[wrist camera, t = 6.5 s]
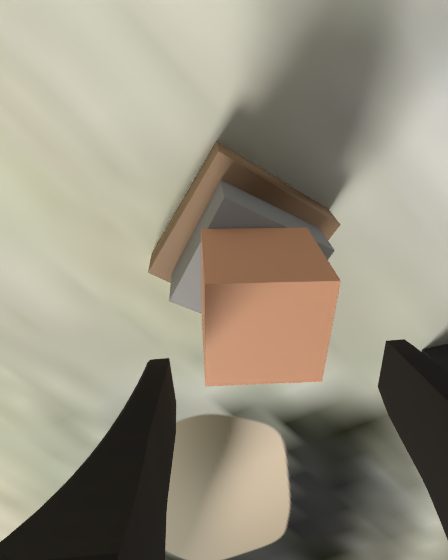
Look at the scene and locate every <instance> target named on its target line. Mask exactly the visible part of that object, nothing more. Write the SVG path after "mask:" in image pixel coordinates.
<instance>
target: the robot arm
mask: <svg viewBox="0 0 448 560" xmlns="http://www.w3.org/2000/svg"><path fill="white" fill-rule="evenodd" d="M378 388H379V391H380V394H381V396H382V399H383V402H384V405H385V407H386V410H387V412H388V415H389V417H390V419H391V421H392V423H393V425H394V426H395V428H396V430H397V432H398V434H399V436H400V438H401V440H402V442H403V443H404V445H405V447H406V449H407V451H408V453H409V455H410V457H411V458H412V460H413V462H414V464H415V466H416V468H417V470H418V472H419V473H420V475H421V477H422V479H423V481H424V484H425V486H426V488H427V490H428V492H429V495H430V497H431V499H432V502H433V504H434V507H435V509H436V511H437V514H438V516H439V519H440V521H441V524H442V526H443V529H444V532H445V534H446V537H447V539H448V371H446V370H445V369H443V368H442V367H441V366H439V365H438V364H437V363H435V362H434V361H433V360H431V359H430V358H429V357H427V356H426V355H425V354H423V353H422V352H421V351H419V350H418V349H417V348H415V347H414V346H413V345H411V344H410V343H409V342H407V341H406V340H391V341H386V344H385V350H384V355H383V361H382V367H381V372H380V378H379V383H378ZM175 434H176V399H175V393H174V387H173V380H172V374H171V367H170V361H169V358H166V359H153V360H150V361H149V362H148V363H147V365H146V368H145V370H144V372H143V374H142V376H141V378H140V380H139V382H138V384H137V386H136V387H135V389H134V391H133V393H132V395H131V396H130V398H129V400H128V401H127V403H126V405H125V407H124V408H123V410H122V411H121V413H120V415H119V416H118V418H117V419H116V421H115V422H114V424H113V425H112V427H111V428H110V430H109V431H108V432H107V434H106V435H105V437H104V438H103V439H102V441H101V442H100V443H99V445H98V446H97V447H96V448H95V450H94V451H93V452H92V453H91V455H90V456H89V457H88V458H87V459H86V461H85V462H84V463H83V464H82V465H81V466H80V468H79V469H78V470H77V471H76V472H75V473H74V474H73V475H72V477H71V478H70V479H69V480H68V481H67V482H66V483H65V484H64V485H63V486H62V487H61V488H60V489H59V490H58V491H57V492H56V493H55V494H54V495H53V496H52V497H51V498H50V499H49V500H48V501H47V502H46V503H45V504H44V505H43V506H42V507H41V508H40V509H39V510H37V511H36V512H35V513H34V514H33V515H32V516H31V517H30V518H28V519H27V520H26V521H25V522H24V523H23V524H21V525H20V526H19V527H18V528H17V529H16V530H14V531H13V532H12V533H11V534H10V535H9V536H7V537H6V538H5V539H4V540H2V541H1V542H0V560H165V538H166V511H167V498H168V491H169V483H170V474H171V467H172V459H173V451H174V442H175Z"/></svg>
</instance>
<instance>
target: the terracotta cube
mask: <svg viewBox="0 0 448 560" xmlns="http://www.w3.org/2000/svg"><path fill="white" fill-rule="evenodd" d="M201 281H202V330H203V349H204V368H205V386H223V385H248V384H272V383H296V382H321V381H322V379H323V373H324V368H325V362H326V357H327V352H328V346H329V341H330V335H331V330H332V325H333V319H334V314H335V308H336V303H337V298H338V292H339V287H340V279H339V278H338V276H337V274H336V273H335V271H334V270H333V268H332V266H331V265H330V263H329V262H328V260H327V259H326V257H325V255H324V254H323V252H322V251H321V249H320V247H319V246H318V244H317V243H316V241H315V239H314V238H313V236H312V235H311V233H310V232H309V230H308V228H228V229H201Z"/></svg>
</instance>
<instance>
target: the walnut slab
mask: <svg viewBox="0 0 448 560" xmlns="http://www.w3.org/2000/svg"><path fill="white" fill-rule="evenodd" d="M220 180H222V181H224V182H226V183H228V184H230V185H232V186H235V187H237V188H239V189H241V190H243V191H245V192H247V193H249V194H251V195H253V196H255V197H257V198H259V199H261V200H263V201H265V202H267V203H269V204H271V205H273V206H275V207H277V208H279V209H281V210H283V211H285V212H287V213H289V214H291V215H293V216H295V217H297V218H299V219H301V220H303V221H305V222H308V223H310V224H312V225H314V226H316V227H318V228H320V230H321V231H322V233H323V234H324V236H325V237H326V239H327V240H329V239H330V237H331V236H332V235H333V234H334V232H335V231H336V230H337V228H338V227H339V226H340V223H339V222H338V221H337V220H336V218H335V217H334V216H333V214H332V213H331V212H330V211H329V210H328V209H327V208H325V207H323V206H322V205H320V204H318V203H317V202H315V201H313V200H312V199H310V198H308V197H307V196H305V195H304V194H302V193H300V192H299V191H297V190H295V189H294V188H292V187H290V186H289V185H287V184H286V183H284V182H282V181H281V180H279V179H277V178H276V177H274V176H272V175H271V174H269V173H267V172H266V171H264V170H263V169H261V168H259V167H258V166H256V165H254V164H253V163H251V162H249V161H248V160H246V159H245V158H243V157H241V156H240V155H238V154H236V153H235V152H233V151H231V150H230V149H228V148H227V147H225V146H223V145H222V144H220V143H218V142H217V141H216V143H215V145H214V146H213V148H212V150H211V152H210V153H209V155H208V157H207V159H206V160H205V162H204V164H203V166H202V167H201V169H200V171H199V173H198V174H197V176H196V178H195V180H194V181H193V183H192V185H191V187H190V188H189V190H188V192H187V194H186V195H185V197H184V199H183V201H182V202H181V204H180V206H179V207H178V209H177V211H176V213H175V214H174V216H173V218H172V220H171V221H170V223H169V225H168V227H167V228H166V230H165V232H164V234H163V235H162V237H161V239H160V241H159V242H158V244H157V246H156V248H155V249H154V251H153V253H152V255H151V260H150V265H149V270H148V273H151V274H153V275H155V276H157V277H159V278H161V279H163V280H165V281H168V282H170V283H171V275H172V273H173V271H174V269H175V267H176V265H177V263H178V261H179V259H180V257H181V255H182V253H183V251H184V250H185V248H186V246H187V244H188V242H189V240H190V238H191V236H192V234H193V232H194V230H195V228H196V226H197V224H198V222H199V220H200V218H201V216H202V215H203V213H204V211H205V209H206V207H207V205H208V203H209V201H210V199H211V197H212V195H213V193H214V191H215V189H216V187H217V185H218V183H219V181H220Z"/></svg>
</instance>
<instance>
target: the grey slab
mask: <svg viewBox="0 0 448 560" xmlns="http://www.w3.org/2000/svg"><path fill="white" fill-rule="evenodd" d="M228 228H308V230H309V232H310V233H311V235H312V236H313V238H314V239H315V241H316V243H317V244H318V246H319V247H320V249H321V251H322V252H323V254H324V255H325V257H326V259H327V260H328V259H329V257H330V256H331V255H332V253H333V252H334V249H333V247H332V246H331V244H330V243H329V242H328V240H327V239H326V237H325V236H324V234H323V233H322V231H321V230H320V228H318V227H316V226H314V225H312V224H310V223H308V222H305V221H303V220H301V219H299V218H297V217H295V216H293V215H291V214H289V213H287V212H285V211H283V210H281V209H279V208H277V207H275V206H273V205H271V204H269V203H267V202H265V201H263V200H261V199H259V198H257V197H255V196H253V195H251V194H249V193H247V192H245V191H243V190H241V189H239V188H237V187H235V186H232V185H230V184H228V183H226V182H224V181H222V180H220V181H219V183H218V185H217V187H216V189H215V191H214V193H213V195H212V197H211V199H210V201H209V203H208V205H207V207H206V209H205V211H204V213H203V215H202V216H201V218H200V220H199V222H198V224H197V226H196V228H195V230H194V232H193V234H192V236H191V238H190V240H189V242H188V244H187V246H186V248H185V250H184V251H183V253H182V255H181V257H180V259H179V261H178V263H177V265H176V267H175V269H174V271H173V273H172V275H171V287H170V298H169V301H170V302H172V303H175V304H178V305H180V306H183V307H185V308H188V309H191V310H193V311H196V312H199V313H201V314H202V281H201V229H228Z"/></svg>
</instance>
